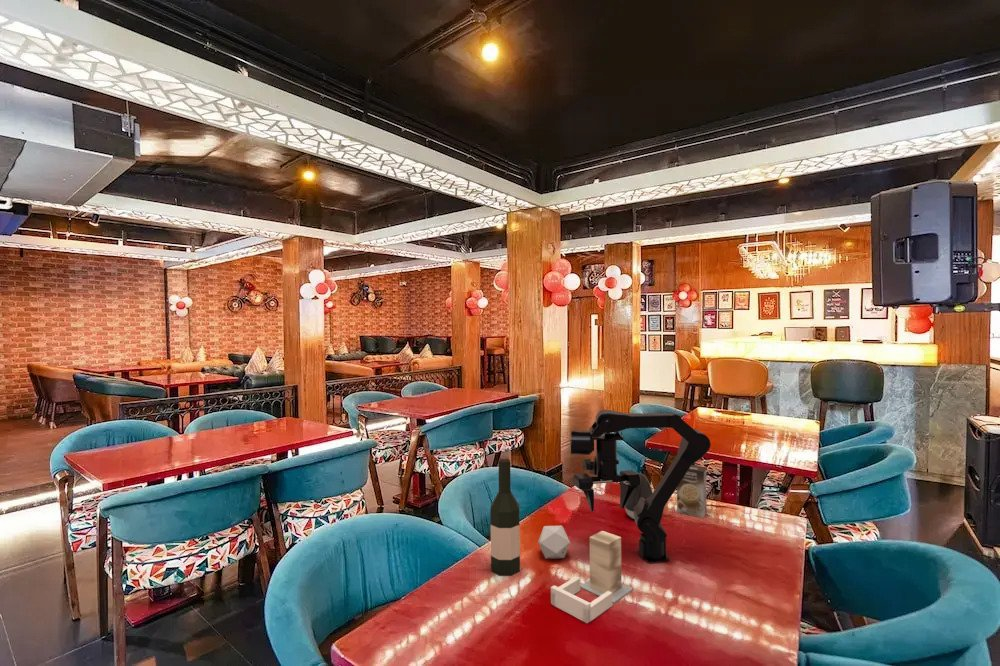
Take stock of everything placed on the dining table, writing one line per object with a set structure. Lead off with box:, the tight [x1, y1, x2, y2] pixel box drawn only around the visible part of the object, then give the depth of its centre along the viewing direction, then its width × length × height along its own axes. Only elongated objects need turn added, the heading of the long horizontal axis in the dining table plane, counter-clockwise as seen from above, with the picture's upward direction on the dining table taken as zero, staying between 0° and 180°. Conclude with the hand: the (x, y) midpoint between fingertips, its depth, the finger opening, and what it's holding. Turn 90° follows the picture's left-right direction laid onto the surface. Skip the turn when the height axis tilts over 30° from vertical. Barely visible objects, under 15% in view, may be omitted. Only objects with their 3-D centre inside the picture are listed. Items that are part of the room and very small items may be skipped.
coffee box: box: [676, 464, 707, 519], centre depth 166 cm, size 9×6×16 cm
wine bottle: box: [489, 456, 521, 577], centre depth 128 cm, size 8×8×30 cm
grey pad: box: [580, 579, 634, 604], centre depth 118 cm, size 8×10×1 cm
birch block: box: [589, 530, 623, 594], centre depth 118 cm, size 6×6×12 cm
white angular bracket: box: [550, 576, 614, 624], centre depth 111 cm, size 10×10×4 cm
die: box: [537, 525, 571, 560], centre depth 135 cm, size 8×9×10 cm
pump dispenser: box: [624, 472, 653, 520], centre depth 162 cm, size 10×10×15 cm
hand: (607, 509), depth 135 cm, fingers open, 9 cm apart
